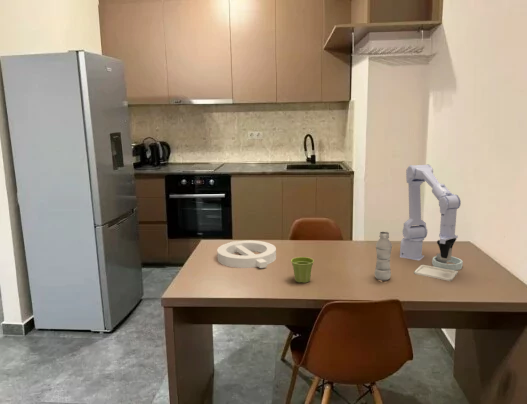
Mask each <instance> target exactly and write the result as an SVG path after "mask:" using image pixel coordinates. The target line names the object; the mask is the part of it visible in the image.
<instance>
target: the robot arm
mask: <svg viewBox="0 0 527 404" xmlns="http://www.w3.org/2000/svg"><path fill="white" fill-rule="evenodd" d="M405 173H406V174H405V177H406V183H407V184H408V188H407V189H408V216H409V217H408V219H407V220H406V221H404V223H403V228H402V235H403V236H402V239H401V241H400V250H399V258H403V259H409V260H413V261H414V260H415V261H421V260H422V259H423V258H424V257H425V255H422V254H423V241H424V240H425V239H426V238H427V236H428V228H427V223H426V222H425V221H424V220H423V219H422V207H421V204H422V203H421V201H422V200H421V185H422V184H423V183H424V182H426V184H427V185H429V186H430V187H431V192H432V194H433V195H434V197H435V198H436V200H438V207H439V213H440V226H439V235H438V237H439V239H438V240H437V241H436V244H437V246H438V248H439V253H441V258H447V257H448V253H449V249H450V247H451V248H452V249H453V246H454V244H455V242H456V241H457V239H458V238H459V236H458V235H457V234H456V226H457V225H456V223H457V213H458V212H457V211H458V209H459V208H460V207H461V203H462V202H461V198H460V197H459V195H458V194H454V193H452V192H451V191H450V189H449V188H448V187H447V186H446V185H445V183H442V182H441V183H440V182H439V181H438V178H437V177H436V176H435V174H434V169H433V167H432V165H430V164H418V165H417V164H414V165H412V164H409V166H408V167H407V168H406V171H405Z"/></svg>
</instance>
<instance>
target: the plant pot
mask: <svg viewBox="0 0 527 404" xmlns="http://www.w3.org/2000/svg"><path fill="white" fill-rule="evenodd" d="M290 262H291V264H292V268H293V275H294V280H295V282H296V283H305V284H306V283H308V282H310V281H311V275H312V268H313V265H314V262H315V260H314V258H311V257H308V256H297V257H292V259H291V260H290Z"/></svg>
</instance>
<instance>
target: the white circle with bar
mask: <svg viewBox="0 0 527 404" xmlns="http://www.w3.org/2000/svg"><path fill="white" fill-rule="evenodd" d="M276 247H277V246H275V244H272V243H270V242H268V241H263V240H262V241H261V240H252V239H251V240H250V239H249V240H246V239H245V240H233V241H229V242H226V243H224V244H221V245H220V246H218V247H217V249H216V251H217V252H216V253H217V261H218V263H219V264H221V265H223V266H225V267H231V268H239V269H252V268H260V269H264V268H268V265H270V264H271V263H273V262H275V261H276V259H277V248H276ZM254 252H256V253H258V254H255V253H254ZM237 253H238V254H237ZM239 254H240V255H239Z"/></svg>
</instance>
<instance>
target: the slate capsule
mask: <svg viewBox="0 0 527 404" xmlns="http://www.w3.org/2000/svg"><path fill="white" fill-rule="evenodd" d="M436 256H437V258H436V261H438V262H441V263H446V264H448V262H447V260H441V259H440V252H439V253H436Z"/></svg>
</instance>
